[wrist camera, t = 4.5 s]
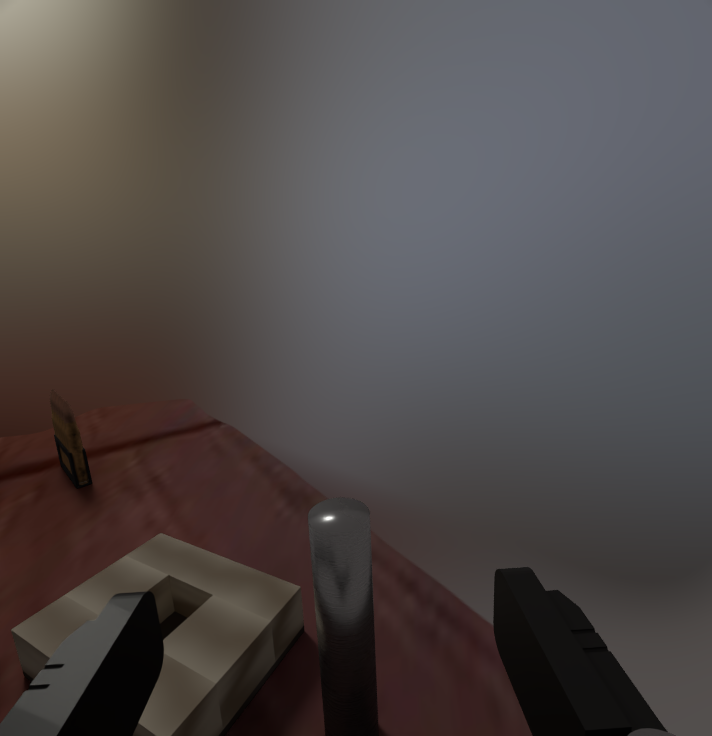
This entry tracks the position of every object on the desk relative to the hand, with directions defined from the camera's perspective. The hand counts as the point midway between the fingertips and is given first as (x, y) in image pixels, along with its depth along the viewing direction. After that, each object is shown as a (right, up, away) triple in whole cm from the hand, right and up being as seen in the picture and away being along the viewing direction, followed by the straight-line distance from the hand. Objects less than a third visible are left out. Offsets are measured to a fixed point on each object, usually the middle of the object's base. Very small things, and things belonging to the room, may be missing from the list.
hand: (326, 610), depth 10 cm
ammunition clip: (-40, -10, +51) cm, 66 cm away
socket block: (-13, -16, +22) cm, 30 cm away
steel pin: (0, -17, +16) cm, 23 cm away
